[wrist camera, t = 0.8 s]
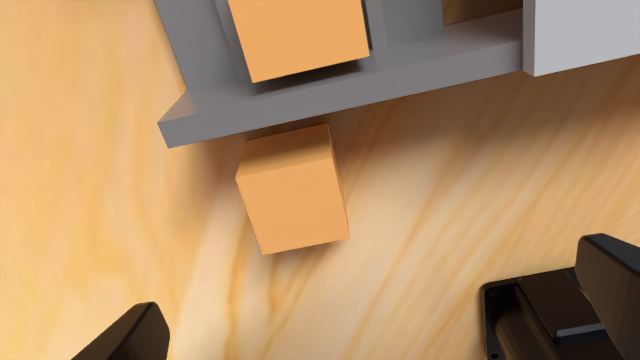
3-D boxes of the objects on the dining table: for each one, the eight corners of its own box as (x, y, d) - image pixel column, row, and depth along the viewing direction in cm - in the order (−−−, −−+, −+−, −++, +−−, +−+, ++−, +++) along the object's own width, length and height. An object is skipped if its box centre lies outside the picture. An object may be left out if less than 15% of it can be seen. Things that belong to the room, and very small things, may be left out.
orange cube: (343, 192, 22) (350, 237, 18) (269, 208, 22) (262, 255, 19) (327, 122, 20) (332, 157, 17) (247, 140, 20) (235, 178, 17)
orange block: (356, 36, 17) (369, 55, 14) (263, 58, 18) (252, 83, 14) (337, -74, 16) (346, -84, 12) (233, -48, 16) (212, -49, 12)
